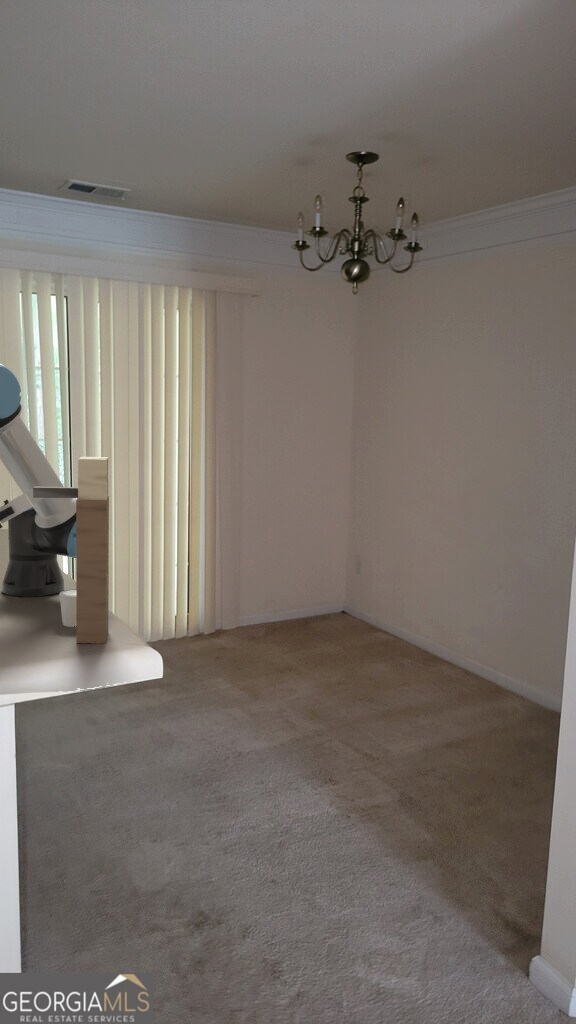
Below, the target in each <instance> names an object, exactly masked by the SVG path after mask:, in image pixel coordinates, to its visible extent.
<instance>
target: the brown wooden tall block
mask: <svg viewBox="0 0 576 1024" xmlns="http://www.w3.org/2000/svg"><path fill="white" fill-rule="evenodd" d="M109 515H110V495H108V498H107V500H78V499H77V500H76V558H75V559H76V561H75V562H76V565H75V566H76V568H75V569H76V572H75V574H76V576H75V577H76V580H75V581H76V587H75V589H76V618H77V627H76V644H77V643H96V644H107V641H108V635H109V618H110V617H109V616H110V615H109V608H110V607H109V603H110V602H109V601H110V599H109V598H110V597H109V596H110V595H109V584H110V583H109V581H110V580H109V578H110V577H109V573H110V570H109V568H110V567H109V566H110V562H109V561H110V550H109V549H110V547H109V546H110V542H109V541H110V531H109V530H110V516H109Z"/></svg>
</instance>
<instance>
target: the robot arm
mask: <svg viewBox="0 0 576 1024" xmlns="http://www.w3.org/2000/svg"><path fill="white" fill-rule="evenodd" d="M21 392H22V390H21V385H20V382H19V380H18V378H17V377H16V375H15V374H14V372H13V371H12V370H11V369H10V368H8V367H7V366H5V365H3V364H2V363H0V461H1V463H2V464H3V466H4V467H5V469H6V470H7V472H8V473H9V474H10V476H11V478H12V479H13V480H14V482H15V483H16V485H17V487H18V488H19V489H20V491H21V492H22V494H20V495H19V496H17V497H15V498H13V499H11V500H8V499H6V500H3V505H2V506H0V529H2V528H3V525H2V524H4V523H7V522H8V523H7V524H8V526H7V527H8V530H7V531H8V564H7V567H6V570H5V573H4V576H3V579H2V582H1V591H2V593H3V594H4V595H8V596H16V597H42V596H49V595H50V596H51V595H55V594H58V593H60V592H62V591H64V590H65V579H64V576H63V573H62V569H61V567H60V564H59V561H58V556H63V557H68V558H71V559H76V500H77V499H78V498H33V487H65V486H64V484H63V483H62V481H61V480H60V478H59V476H58V475H57V473H56V471H55V470H54V468H53V467H52V465H51V463H50V462H49V460H48V459H47V457H46V455H45V454H44V452H43V450H42V449H41V448H40V446H39V444H38V443H37V441H36V440H35V438H34V437H33V435H32V433H31V432H30V430H29V429H28V427H27V425H26V424H25V422H24V421H23V419H22V418H21V413H22V411H23V407H22V404H21V401H22V396H21V395H20V393H21Z"/></svg>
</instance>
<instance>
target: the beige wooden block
mask: <svg viewBox="0 0 576 1024" xmlns="http://www.w3.org/2000/svg"><path fill="white" fill-rule="evenodd" d="M77 475H78V476H77V487H75V486H64V487H33V498H78V500H107V498H108V496H109V456H108V457H107V456H106V457H105V456H80V457H79V458H78V459H77Z"/></svg>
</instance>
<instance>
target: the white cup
mask: <svg viewBox="0 0 576 1024" xmlns="http://www.w3.org/2000/svg"><path fill="white" fill-rule="evenodd" d="M59 600H60V601H59V603H60V611H61V613H60V614H61V622H62V625H63V626H65V627H69V628H77V627H76V626H77V618H76V588H73V589H66V590H65V589H64V590H63V591H61V592H59ZM74 626H75V627H74Z"/></svg>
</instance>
